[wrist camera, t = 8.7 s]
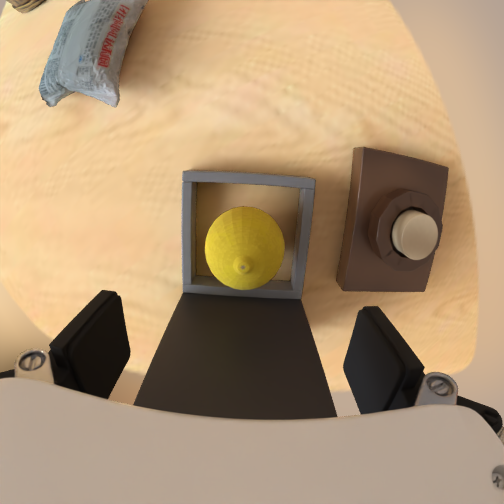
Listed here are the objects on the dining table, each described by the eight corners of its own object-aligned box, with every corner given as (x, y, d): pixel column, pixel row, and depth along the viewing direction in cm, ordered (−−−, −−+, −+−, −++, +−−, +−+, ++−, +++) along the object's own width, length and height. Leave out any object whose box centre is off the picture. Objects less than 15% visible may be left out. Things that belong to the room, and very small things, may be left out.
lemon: (270, 192, 23) (280, 209, 15) (284, 255, 24) (299, 298, 17) (205, 208, 23) (182, 233, 15) (222, 269, 25) (211, 317, 17)
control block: (353, 147, 21) (372, 146, 17) (435, 165, 21) (461, 169, 18) (335, 280, 25) (349, 301, 21) (414, 282, 25) (434, 300, 21)
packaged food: (163, -1, 16) (146, -26, 12) (126, 110, 20) (98, 101, 15) (89, 8, 16) (65, -9, 11) (55, 109, 20) (23, 105, 15)
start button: (395, 206, 19) (406, 211, 18) (430, 212, 19) (442, 217, 18) (387, 251, 20) (397, 259, 19) (421, 254, 20) (432, 261, 19)
